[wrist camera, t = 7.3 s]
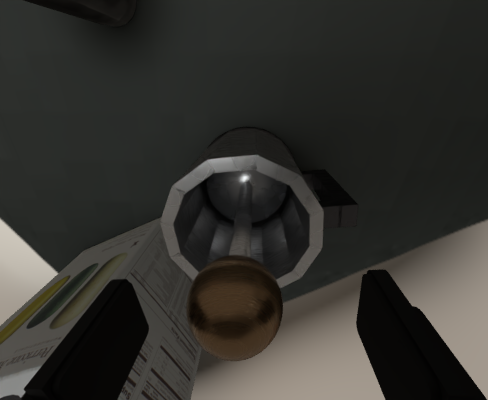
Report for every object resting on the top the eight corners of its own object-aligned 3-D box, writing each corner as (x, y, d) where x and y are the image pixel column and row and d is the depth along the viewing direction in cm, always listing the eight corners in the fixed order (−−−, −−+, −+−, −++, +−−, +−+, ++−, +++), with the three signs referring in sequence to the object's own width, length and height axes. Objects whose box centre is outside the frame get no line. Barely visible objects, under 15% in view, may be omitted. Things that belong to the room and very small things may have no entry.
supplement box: (164, 212, 28) (44, 366, 12) (216, 289, 33) (178, 474, 17) (81, 249, 31) (-106, 413, 15) (140, 315, 35) (44, 494, 19)
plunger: (284, 142, 21) (354, 253, 6) (286, 216, 24) (337, 411, 9) (202, 150, 22) (85, 268, 7) (214, 221, 25) (152, 411, 10)
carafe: (319, 119, 23) (377, 139, 12) (317, 213, 27) (359, 292, 16) (192, 132, 24) (139, 162, 13) (209, 220, 28) (179, 300, 17)
